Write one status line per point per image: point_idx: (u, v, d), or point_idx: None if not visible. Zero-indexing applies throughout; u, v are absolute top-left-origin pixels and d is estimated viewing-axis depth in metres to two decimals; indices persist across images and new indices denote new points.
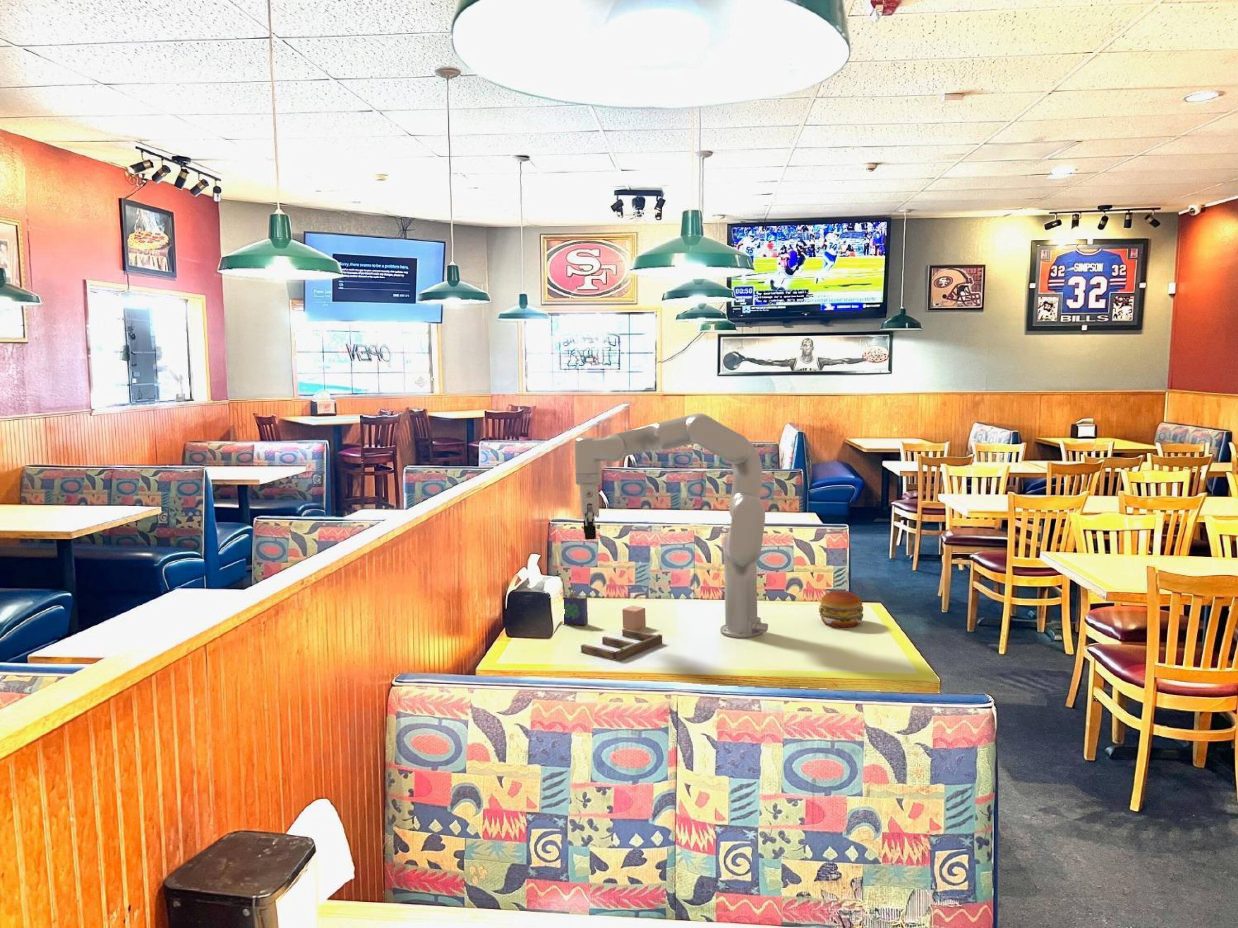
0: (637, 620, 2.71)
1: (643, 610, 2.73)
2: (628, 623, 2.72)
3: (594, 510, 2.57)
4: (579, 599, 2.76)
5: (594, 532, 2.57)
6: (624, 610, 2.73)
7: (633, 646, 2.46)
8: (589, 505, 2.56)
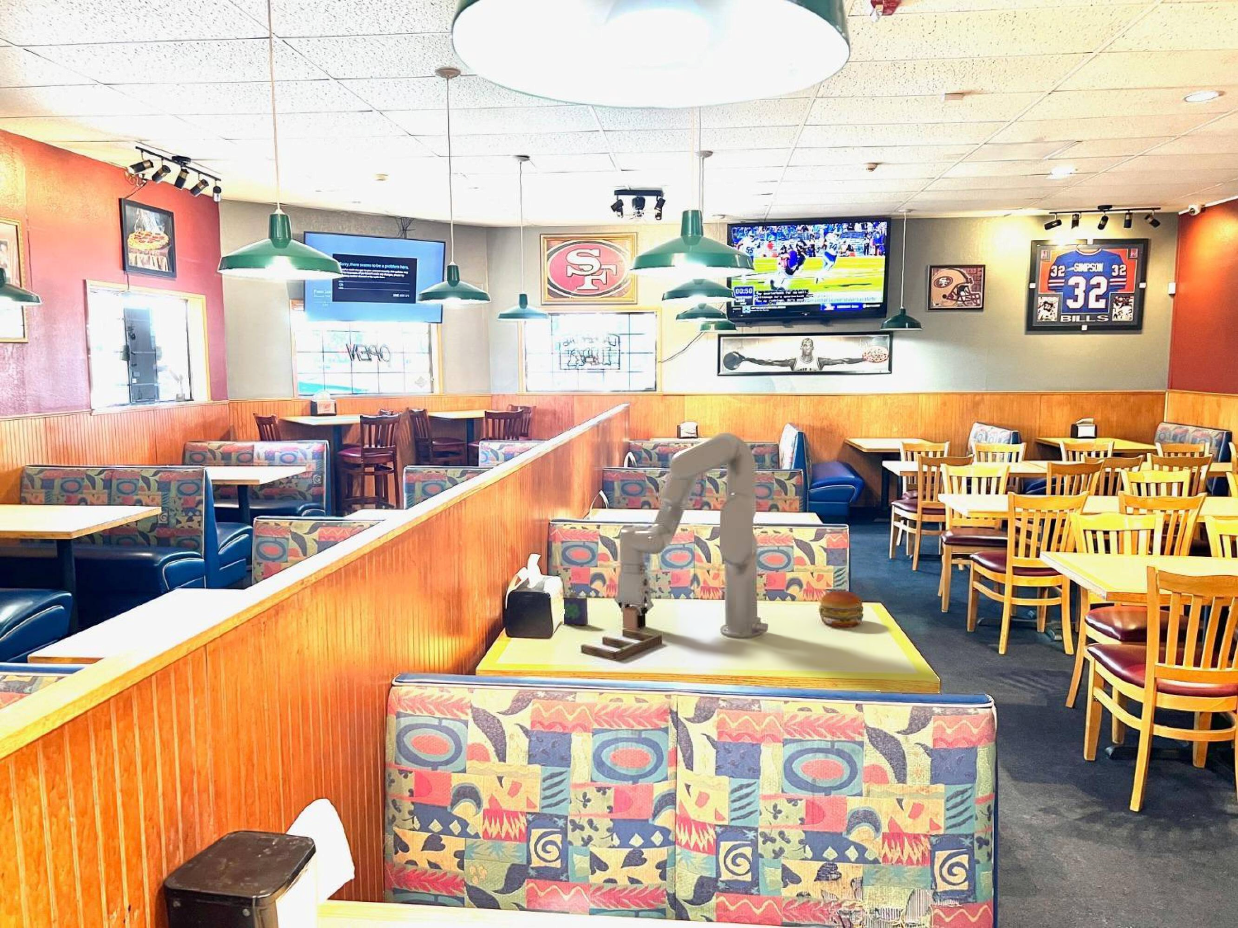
0: None
1: None
2: (628, 623, 2.72)
3: (649, 596, 2.71)
4: (579, 599, 2.76)
5: (644, 620, 2.73)
6: (624, 610, 2.73)
7: (633, 646, 2.46)
8: (646, 595, 2.70)
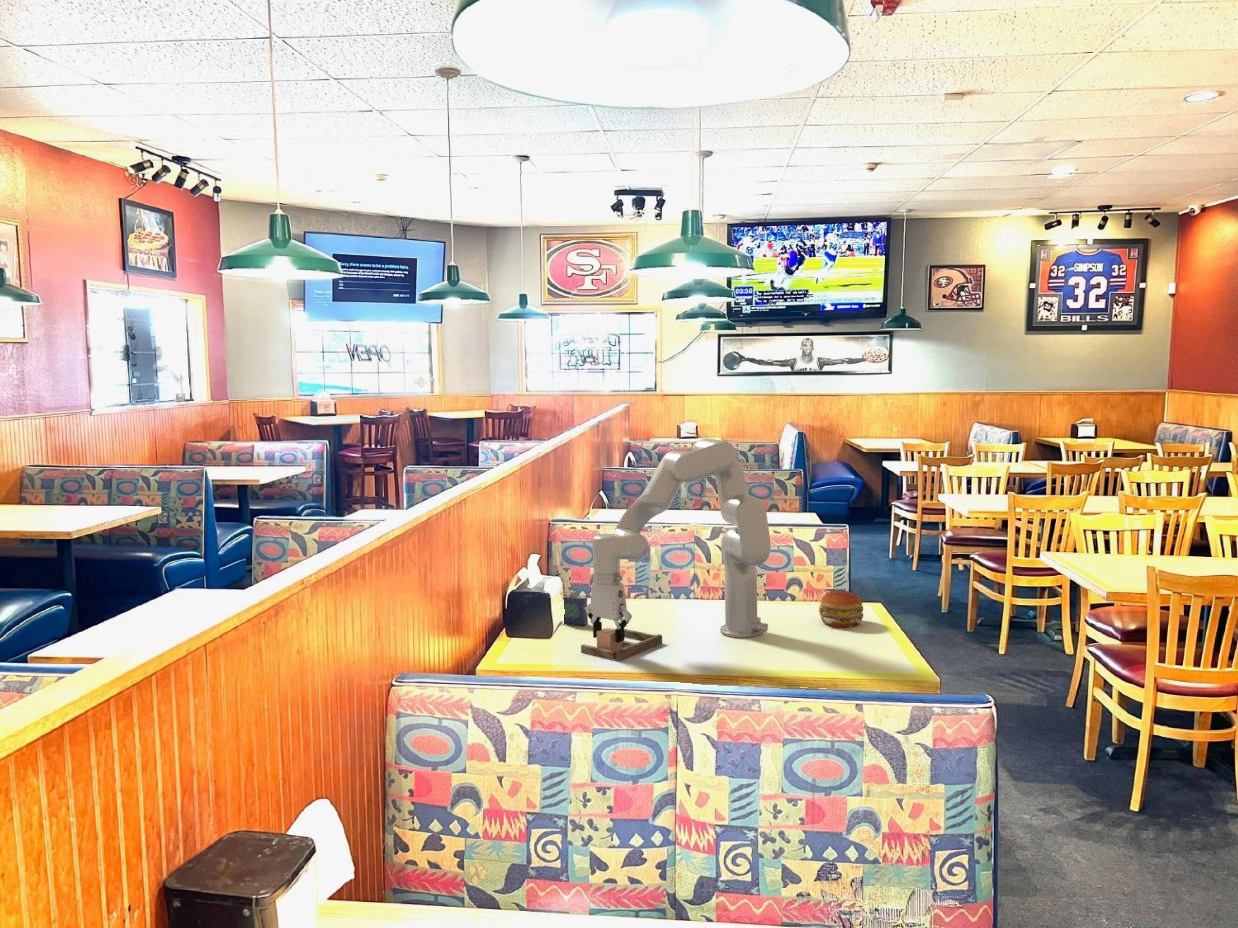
0: (612, 644, 2.48)
1: None
2: (603, 647, 2.49)
3: None
4: (579, 599, 2.76)
5: None
6: (598, 633, 2.50)
7: (633, 646, 2.46)
8: (622, 606, 2.46)
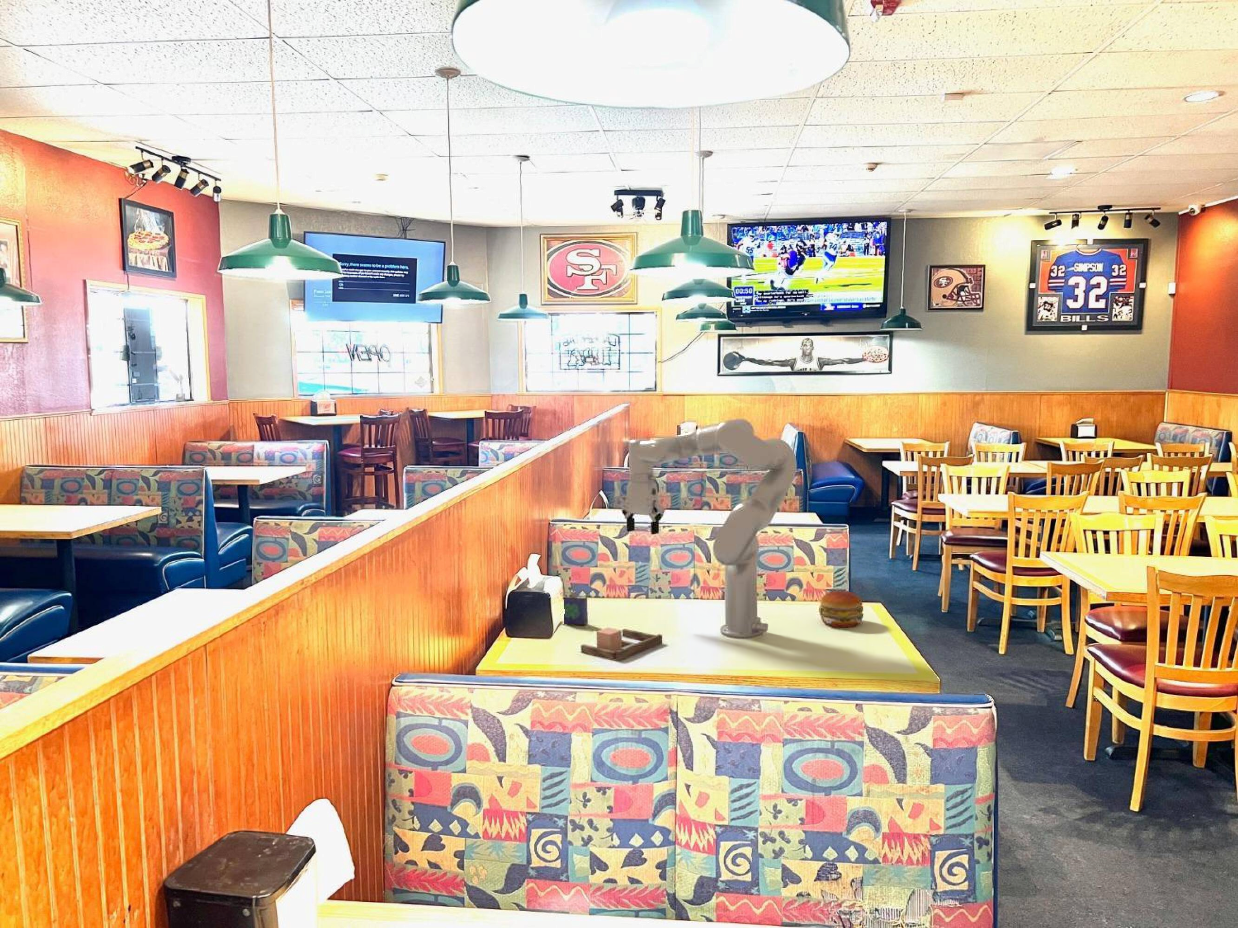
0: (612, 644, 2.48)
1: (619, 633, 2.50)
2: (603, 647, 2.49)
3: None
4: (579, 599, 2.76)
5: None
6: (598, 633, 2.50)
7: (633, 646, 2.46)
8: (655, 502, 2.74)
